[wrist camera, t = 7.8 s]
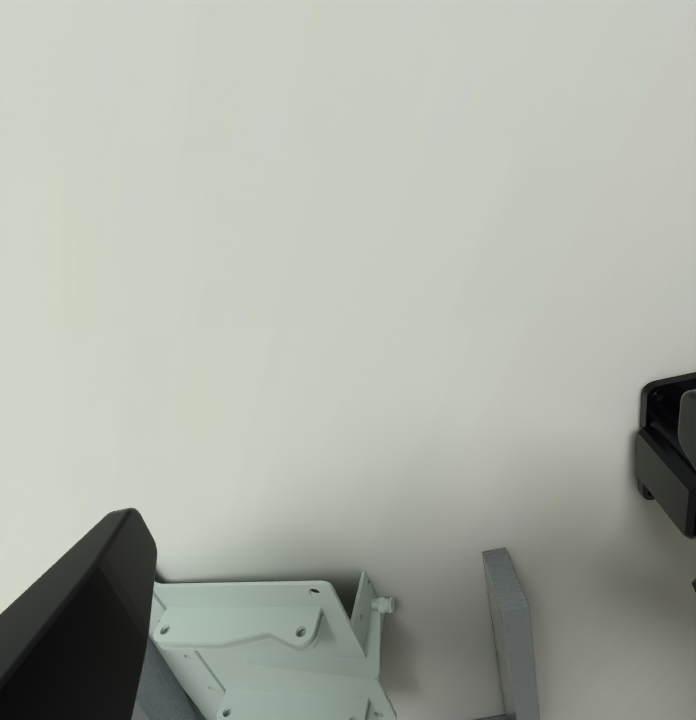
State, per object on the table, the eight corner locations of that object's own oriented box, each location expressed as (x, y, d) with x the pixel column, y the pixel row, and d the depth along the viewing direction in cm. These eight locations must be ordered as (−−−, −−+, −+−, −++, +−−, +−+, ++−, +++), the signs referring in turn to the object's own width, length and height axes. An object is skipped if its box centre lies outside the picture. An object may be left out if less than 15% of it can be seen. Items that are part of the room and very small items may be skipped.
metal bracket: (320, 590, 21) (419, 781, 28) (352, 481, 26) (430, 668, 33) (43, 594, 26) (184, 756, 33) (112, 502, 31) (223, 661, 38)
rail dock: (505, 547, 28) (533, 618, 25) (525, 721, 36) (549, 795, 32) (122, 623, 30) (96, 702, 26) (220, 777, 37) (210, 854, 33)
